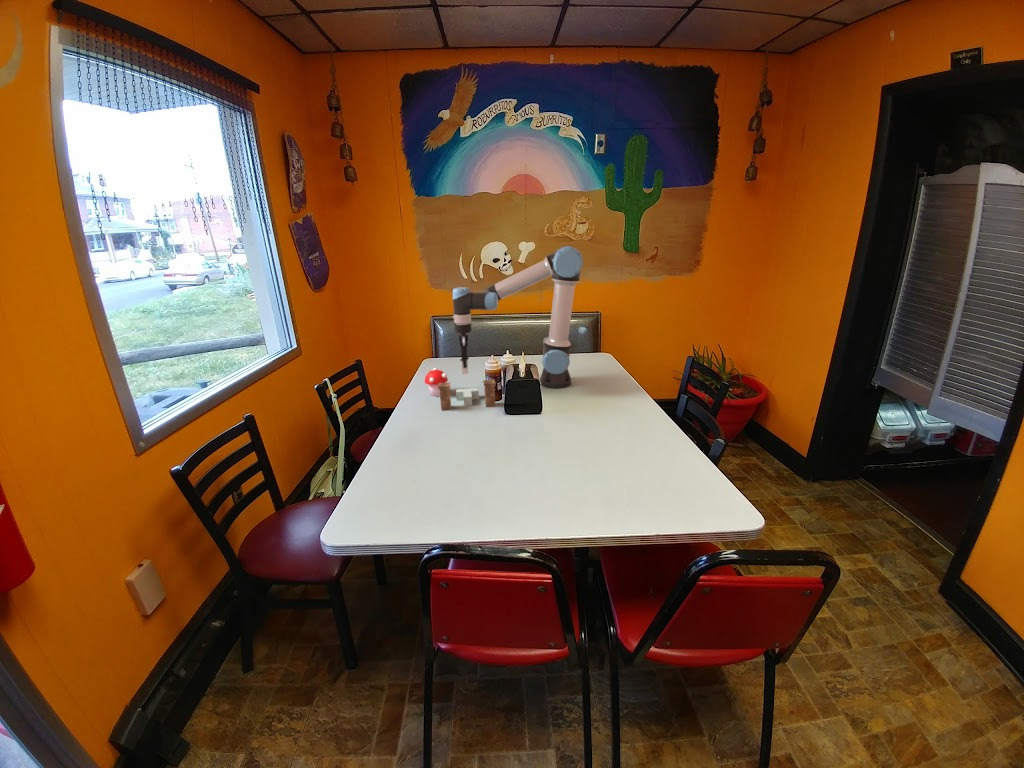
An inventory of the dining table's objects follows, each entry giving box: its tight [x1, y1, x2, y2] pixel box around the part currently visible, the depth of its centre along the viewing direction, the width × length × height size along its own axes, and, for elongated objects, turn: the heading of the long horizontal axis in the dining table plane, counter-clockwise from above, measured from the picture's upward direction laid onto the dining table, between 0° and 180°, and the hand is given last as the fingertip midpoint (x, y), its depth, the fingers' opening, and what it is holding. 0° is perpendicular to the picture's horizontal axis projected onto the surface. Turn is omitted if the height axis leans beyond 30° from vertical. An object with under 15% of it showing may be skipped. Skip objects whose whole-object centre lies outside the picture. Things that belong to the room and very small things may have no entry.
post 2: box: [482, 379, 496, 408], centre depth 192 cm, size 5×5×11 cm
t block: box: [455, 387, 480, 407], centre depth 198 cm, size 10×10×4 cm
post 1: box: [438, 381, 452, 411], centre depth 190 cm, size 5×5×11 cm
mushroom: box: [424, 367, 449, 398], centre depth 206 cm, size 11×11×12 cm
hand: (465, 373), depth 205 cm, fingers closed
